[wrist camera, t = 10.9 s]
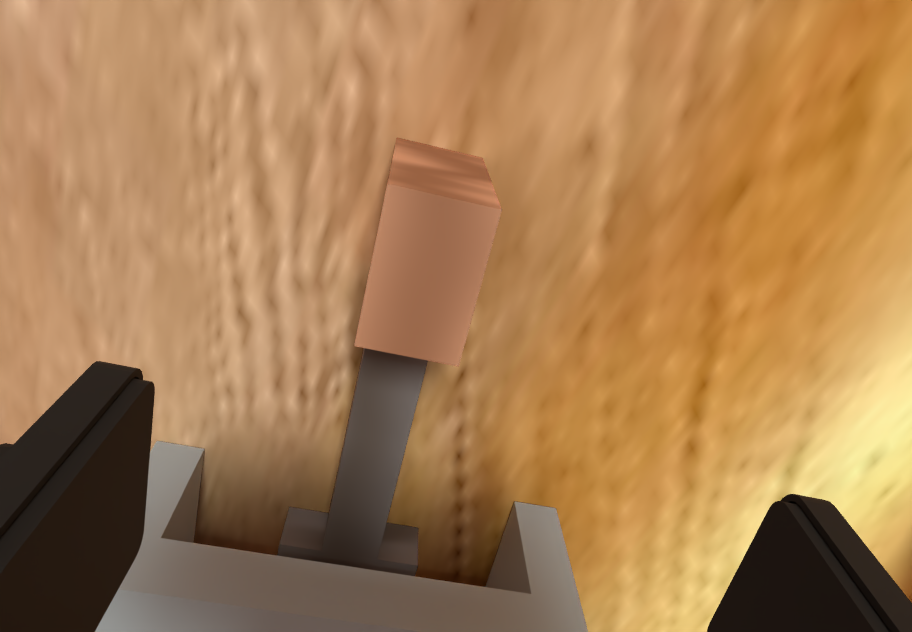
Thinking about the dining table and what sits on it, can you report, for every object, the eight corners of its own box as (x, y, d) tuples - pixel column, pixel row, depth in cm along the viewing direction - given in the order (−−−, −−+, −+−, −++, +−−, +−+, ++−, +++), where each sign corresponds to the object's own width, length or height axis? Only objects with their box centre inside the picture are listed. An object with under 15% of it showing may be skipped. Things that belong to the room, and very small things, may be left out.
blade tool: (519, 166, 26) (550, 220, 19) (412, 547, 33) (410, 678, 27) (358, 128, 25) (335, 172, 18) (285, 527, 32) (251, 657, 26)
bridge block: (555, 508, 32) (594, 656, 25) (509, 631, 35) (532, 794, 28) (156, 440, 30) (71, 582, 23) (145, 579, 33) (66, 742, 26)
